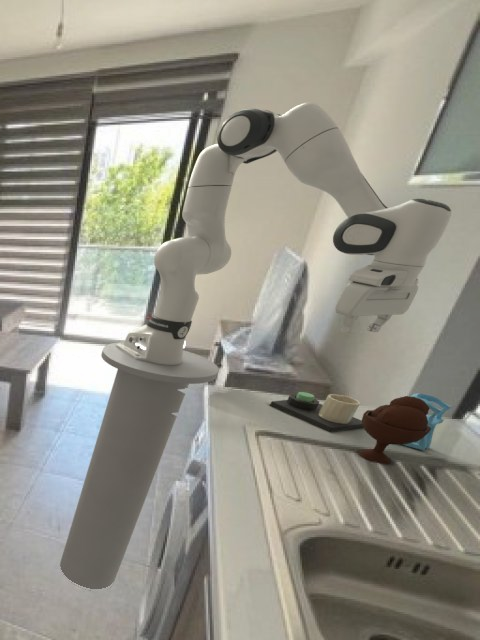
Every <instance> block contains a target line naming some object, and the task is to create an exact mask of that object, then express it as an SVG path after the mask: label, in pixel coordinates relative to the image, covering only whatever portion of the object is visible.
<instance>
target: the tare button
mask: <svg viewBox="0 0 480 640" xmlns="http://www.w3.org/2000/svg"><path fill="white" fill-rule="evenodd" d="M296 394H297V396H296V399H299V400H301V401H305V402H312V401H313V399H315V395H314V394H312V393H309V392H306V391H298V393H296Z"/></svg>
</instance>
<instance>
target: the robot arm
mask: <svg viewBox="0 0 480 640" xmlns="http://www.w3.org/2000/svg"><path fill="white" fill-rule="evenodd" d="M216 137H217V138H216V141H217V143H215V144H212V145H209V146H207V147H206V148H204V149H203V150H202V151H201V152H200V153H199V155H198V157H197V159H196V161H195V163H194V166H193V169H192V171H191V175H190V178H189V181H188V185H187V190H186V194H185V199H184V203H183V208H182V212H181V215H182V216H181V217H182V219H183V221H184V222H185V224H186V227H187V237H178V238H174V239H171V240H166V241H165V242H163V243H162V244H161V245H160V246H159V247H158V248H157V249H156V251H155V255H154V258H153V262H154V267H155V268H156V270H157V272H158V274H159V277H160V291H159V296H158V299H157V303H156V306H155V309H154V313H153V314H152V315H147V317H145V320H147V322H146V324H143V325H142V326H140V327H137V328H135V329H132V330H131V331H129V332H128V334H127V335H126V337H125V339H124V341H122V342H123V343H118V342H117V343H118V344H117V345H116V347H117V348H118V349H120V350H121V351H123V352H125V353H126V354H128V355H129V356H131V357H132V358H134V359H136V360H139V361H147V362H151V363H156V364H163V365H178V364H181V363H182V354H183V350H184V349H185V348H186V338H187V335H188V333H189V332H190V330H191V326H192V324H193V321H192V319H193V316H194V313H195V311H196V307H197V305H198V302H199V298H200V296H199V295H200V294H199V293H198V292H197V290H196V285H195V284H196V283H195V282H196V276H197V275H208V274H211V273H215V272H218V271H220V270H222V269H223V268H225V267H226V266H227V264H228V263H229V261H230V260H231V257H232V247H231V245H230V244H229V242H228V240H227V238H226V227H225V225H226V224H225V223H226V221H225V220H226V218H225V217H226V213H227V207H228V204H229V198H230V194H231V191H232V187H233V183H234V178H235V175H236V172H237V170H238V168H239V167H240V165H242V164H246V165H247V164H250V163H252V162H255V161H257V160H260V159H264V158H266V157H269V156H271V155H273V154H274V153H276V152H278V154H279V155H280V157H281V159H282V160H283V162H284V163H285V166H286V167H287V169H288V170H289V172H290V173H291V174H292V175H293V176H294V177H295V178H296V180H298V182H300V183H302V184H303V185H307V186H310V187H312V188H316V189H319V190H321V191H323V192H325V193H327V194H328V195H330V196H331V197H332V198H333V199H334V200H335V201H336V202H337V204H338V205H339V207H340V208H341V210H342V211H343V213H344V214H345V216H346V217H347V218H345V219H344V220H343V221H342V222H340V223H339V225H338V226H337V227H336V229H335V230H334V232H333V235H332V244H333V246H334V248H335V249H336V250H337V251H339V252H341V253H343V254H345V255H349V256H363V255H365V256H374V257H373V260H372V261H371V263H370V264H368V265H366V266H364V267H362V268H359V269H357V270H354V271H352V272H351V273H350V275H349V278H348V281H350V282H349V283H348V284H347V285H346V286H345V288H344V289H343V291H342V292H341V294H340V297H339V298H338V301H337V303H336V305H335V313H336V314H339V315H341V316H343V319H342V327H341V329H340V332H341V333H344V334H352V333H353V332H354V330H355V328H356V326H355V321H357V320H358V318H359V317H364V316H365V317H368V316H370V317H371V316H376V319H375V320H374V321H373V322H372V323H369V325H368V327H367V331H368V332H371V333H378V332H380V330H381V329H382V327H383V326H384V325H385V324H387V322H388V321H389V320H390V319H391V318H392V317H393V316H394V315H395V316H396V315H399V316H400V315H404V314H406V312H407V311H408V310H409V309H410V307H411V305H412V303H413V301H414V299H415V297H416V295H417V292H418V291H419V286H418V284H419V280H418V277H419V275H420V273H421V272H422V271H423V268H424V267H425V265H426V263H427V258H428V256H429V254H430V253H431V252H432V251H433V250H434V248H436V246H437V245H438V244H439V242H440V240H441V238H442V236H443V234H444V232H445V230H446V228H447V227H448V225H449V222H450V219H451V216H452V209H451V207H450V206H449V205H447V204H445V203H442V202H439V201H435V200H430V199H425V198H412V199H410V200H407V201H405V202H403V203H400V204H397V205H394V206H390V207H388V206H386V204H384V203H383V202H382V200H381V199H380V197H379V196H378V194H377V193H376V191H375V190H374V188H372V186H371V184H370V183H369V182H368V180H367V179H366V177H365V176H364V174H363V173H362V172H361V169H360V168H359V165H358V163H357V162H356V160H355V157H354V156H353V153H352V151H351V149H350V147H349V144H348V142H347V140H346V138H345V137H344V134H343V133H342V131H341V130H340V128H339V126H338V125H337V123H336V122H335V120H334V119H333V118H332V117H331V116H330V114H328V113H327V112H326V111H325V110H324V108H322V107H321V106H320V105H318V104H317V103H315V102H304V103H303V102H302V103H301V104H298V105H295V106H293V107H291V109H289V110H288V111H286V112H285V113H283V114H280V113H277V112H274V111H271V110H269V109H259V108H244V109H240V110H237V111H236V112H234V113H232V114H231V115H229V116H228V117H227V118H226V119H225V120H224V121H223V122H222V123H221V125H220V126H219V129H218V133H217V136H216Z"/></svg>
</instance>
